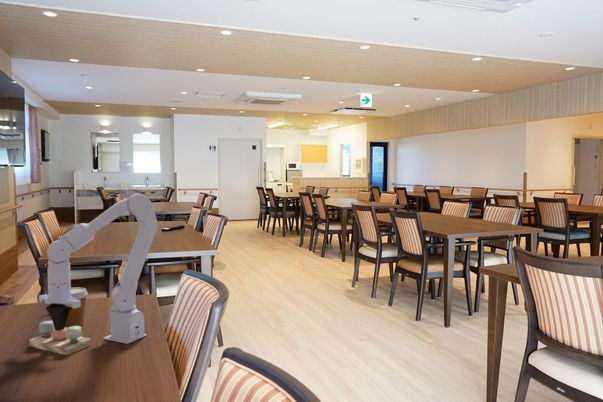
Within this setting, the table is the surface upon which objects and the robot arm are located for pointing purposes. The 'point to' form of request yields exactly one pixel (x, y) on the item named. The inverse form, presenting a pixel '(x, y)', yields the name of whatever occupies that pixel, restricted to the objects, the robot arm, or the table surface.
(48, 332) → the slate button
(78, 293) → the disposable coffee cup
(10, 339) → the table surface
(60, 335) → the peach round knob
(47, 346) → the button board
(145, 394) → the table surface
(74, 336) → the sage button
